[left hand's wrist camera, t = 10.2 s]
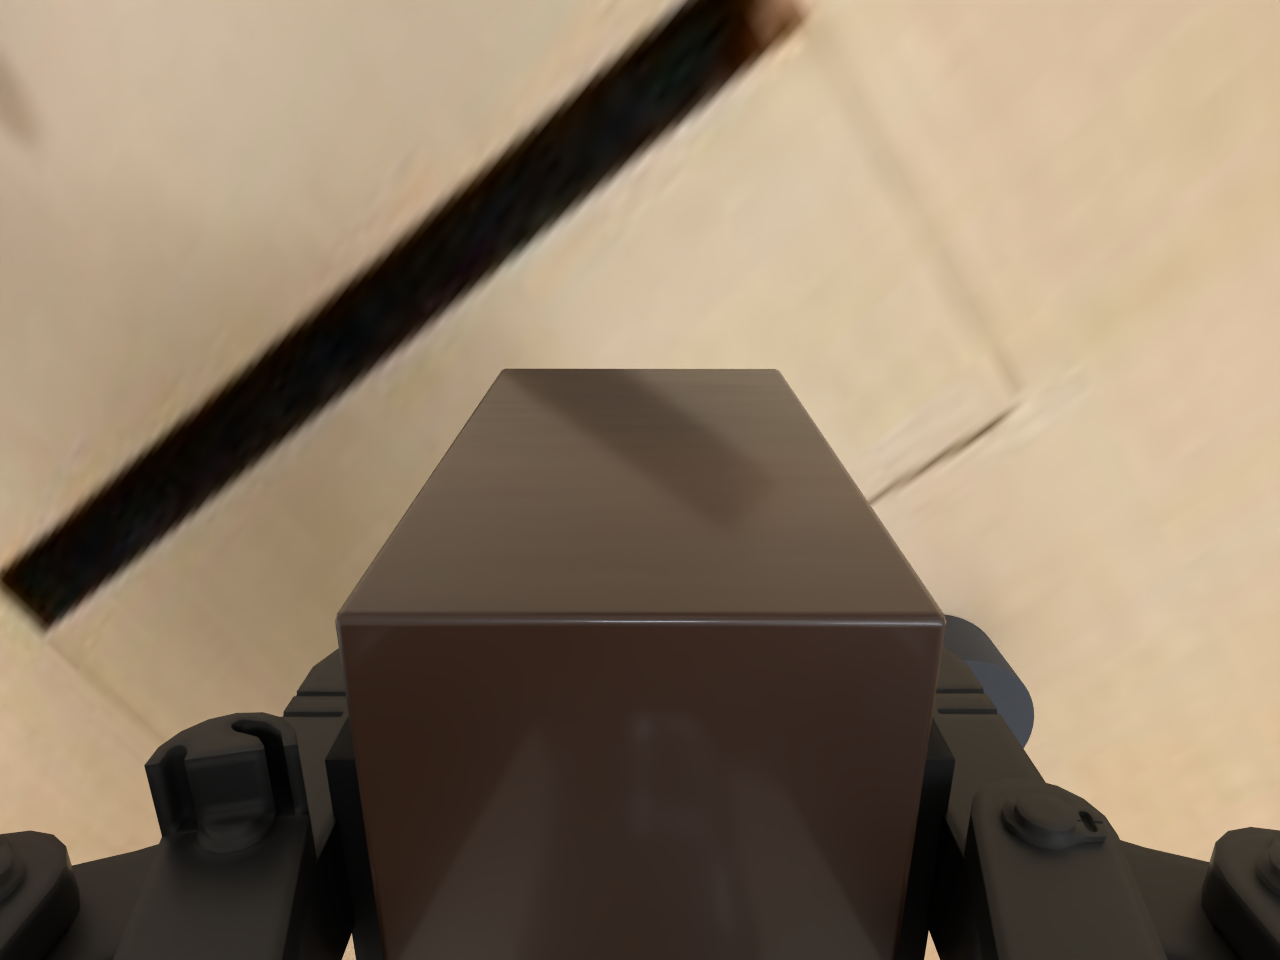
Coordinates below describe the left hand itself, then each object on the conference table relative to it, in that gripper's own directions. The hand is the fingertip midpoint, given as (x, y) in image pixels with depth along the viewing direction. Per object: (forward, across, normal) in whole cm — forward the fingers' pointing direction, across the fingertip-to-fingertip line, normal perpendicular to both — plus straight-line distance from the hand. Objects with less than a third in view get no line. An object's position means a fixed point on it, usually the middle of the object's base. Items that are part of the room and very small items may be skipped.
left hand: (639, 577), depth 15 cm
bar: (0, 0, -8) cm, 8 cm away
